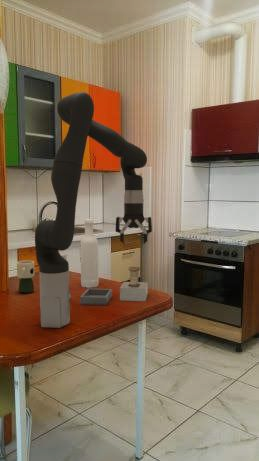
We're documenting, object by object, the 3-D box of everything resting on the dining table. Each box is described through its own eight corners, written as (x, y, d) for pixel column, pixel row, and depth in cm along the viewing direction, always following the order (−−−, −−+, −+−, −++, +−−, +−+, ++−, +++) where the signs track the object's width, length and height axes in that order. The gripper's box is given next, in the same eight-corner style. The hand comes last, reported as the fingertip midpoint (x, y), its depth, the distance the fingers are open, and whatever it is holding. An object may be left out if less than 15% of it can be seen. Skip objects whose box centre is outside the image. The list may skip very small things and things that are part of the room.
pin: (139, 299, 147) (139, 269, 146) (128, 298, 148) (127, 268, 147) (140, 295, 152) (140, 266, 150) (129, 295, 152) (129, 266, 151)
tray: (106, 305, 139) (106, 297, 139) (80, 304, 140) (80, 296, 140) (112, 296, 151) (112, 289, 150) (87, 295, 152) (87, 288, 152)
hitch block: (145, 301, 144) (145, 288, 144) (120, 300, 145) (119, 287, 145) (147, 294, 154) (147, 282, 153) (123, 293, 155) (123, 281, 155)
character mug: (32, 295, 153) (31, 264, 151) (15, 296, 152) (14, 264, 151) (37, 288, 164) (36, 259, 162) (20, 289, 163) (19, 259, 161)
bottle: (78, 285, 169) (76, 219, 166) (93, 282, 174) (92, 218, 171) (86, 288, 163) (84, 220, 160) (101, 286, 167) (101, 219, 164)
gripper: (114, 202, 143) (114, 244, 145) (151, 202, 141) (151, 244, 143) (117, 201, 150) (117, 241, 152) (152, 201, 149) (152, 242, 150)
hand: (133, 243), depth 147 cm, fingers open, 8 cm apart
